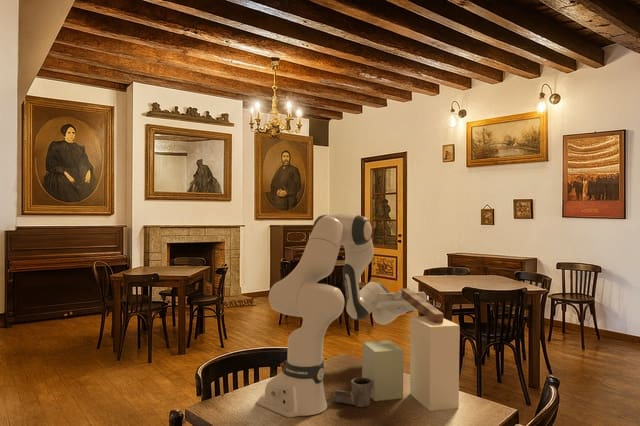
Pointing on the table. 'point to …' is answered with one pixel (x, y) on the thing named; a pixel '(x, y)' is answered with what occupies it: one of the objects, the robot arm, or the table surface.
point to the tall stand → (434, 363)
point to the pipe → (356, 393)
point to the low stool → (383, 369)
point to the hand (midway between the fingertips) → (407, 292)
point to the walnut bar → (422, 306)
